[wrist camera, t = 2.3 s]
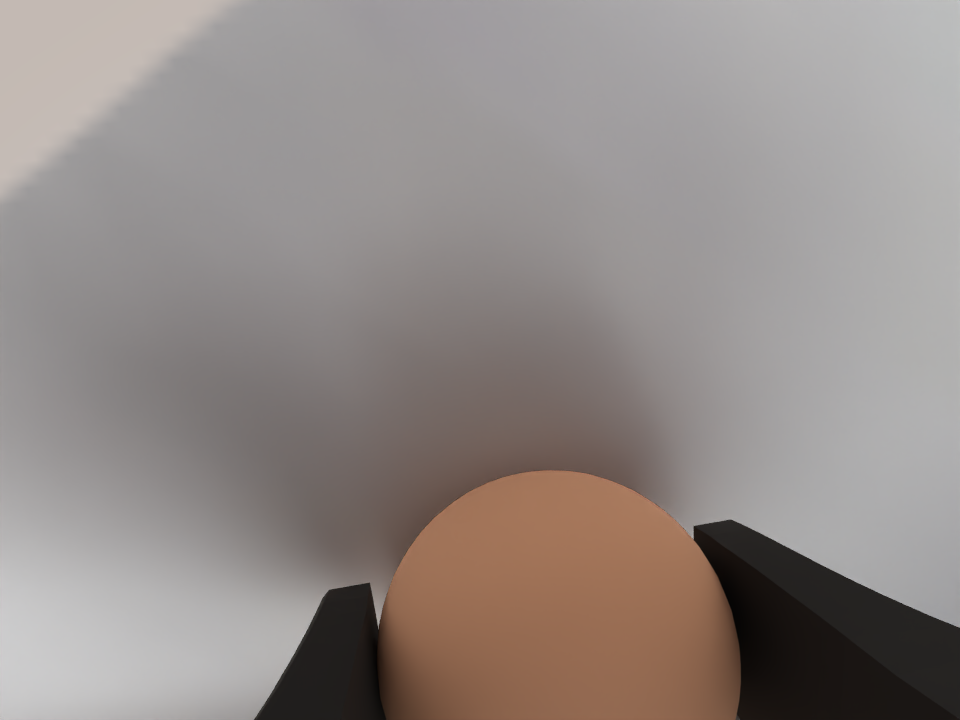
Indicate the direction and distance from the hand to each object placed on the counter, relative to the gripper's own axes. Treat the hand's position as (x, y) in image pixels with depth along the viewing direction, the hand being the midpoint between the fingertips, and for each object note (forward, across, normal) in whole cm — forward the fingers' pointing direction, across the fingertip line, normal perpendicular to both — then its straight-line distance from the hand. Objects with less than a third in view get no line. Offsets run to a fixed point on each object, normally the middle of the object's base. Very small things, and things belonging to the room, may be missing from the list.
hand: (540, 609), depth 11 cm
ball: (-1, 0, 0) cm, 1 cm away
